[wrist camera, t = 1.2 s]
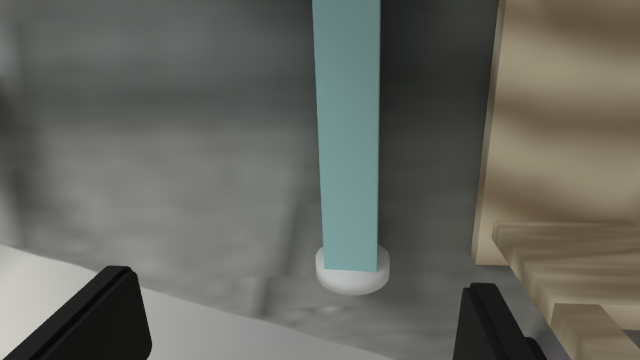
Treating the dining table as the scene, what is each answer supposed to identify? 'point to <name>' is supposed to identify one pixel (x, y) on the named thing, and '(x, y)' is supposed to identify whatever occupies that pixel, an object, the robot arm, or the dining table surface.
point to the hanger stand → (566, 167)
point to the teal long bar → (349, 144)
